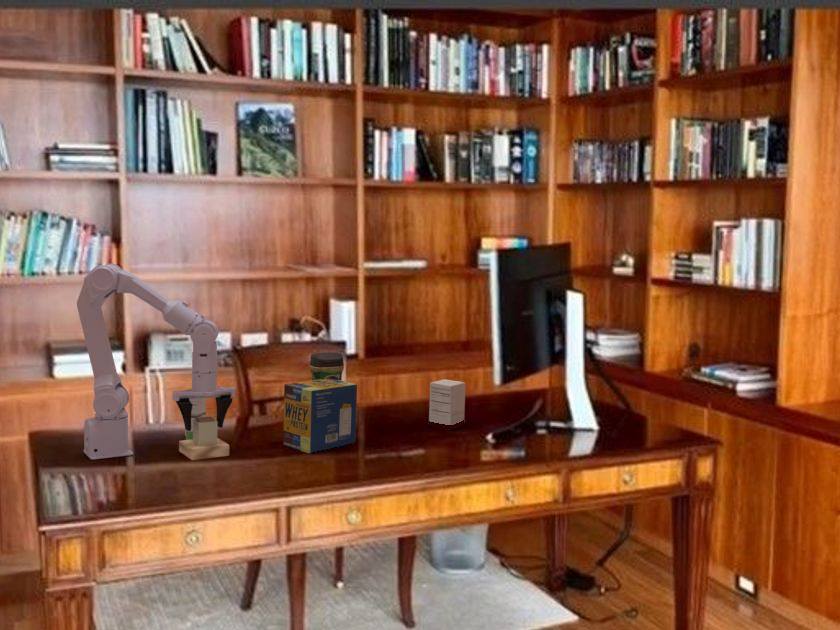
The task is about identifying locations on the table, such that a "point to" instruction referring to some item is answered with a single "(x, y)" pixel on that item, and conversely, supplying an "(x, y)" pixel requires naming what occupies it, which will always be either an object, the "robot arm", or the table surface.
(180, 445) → the maple block
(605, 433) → the table surface
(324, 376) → the coffee jar
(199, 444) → the sage box
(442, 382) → the supplement box
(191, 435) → the ink box
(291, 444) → the protein box
